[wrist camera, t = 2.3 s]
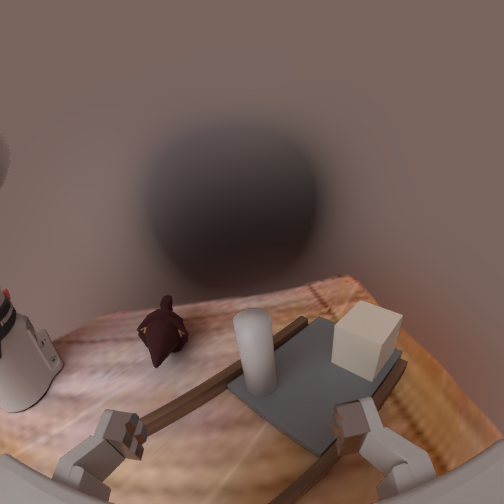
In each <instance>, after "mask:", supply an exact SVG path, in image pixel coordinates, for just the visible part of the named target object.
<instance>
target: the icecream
mask: <svg viewBox="0 0 504 504" xmlns="http://www.w3.org/2000/svg"><path fill="white" fill-rule="evenodd" d="M160 307H161V309H157V310H156V311H154V312H152V313H150V314H149V315H147V317H146V318H145V319H144V320H143V322H142V323H141V324H140V326H139V327H138V328H137V330H138V332H139V334H138V335H139V337H140V338H141V339H142V341H143V342H144V344H145V345H146V347H147V348H149V352H150V355H151V359H152V362H153V365H154V367H155V368H158V367H159V366H160V365H161V363H162V362H163V361H164V360H165V359H166V358H167V357H168V356H169V354H170V353H172V352H178V351H180V350H181V349H182V347H183V346H184V344H185V343H186V342H187V341H188V333H187V331H186V330H185V327H184V324H183V319H182V318H181V317H180V316H178V315H177V314H176V313H174V312H173V311H172V310H173V308H172V297H171V296H169V295H166V296H164V297H163V298H162V301H161V304H160Z"/></svg>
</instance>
